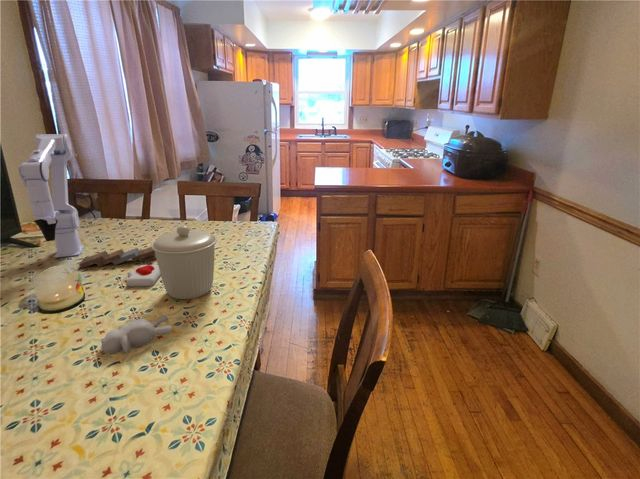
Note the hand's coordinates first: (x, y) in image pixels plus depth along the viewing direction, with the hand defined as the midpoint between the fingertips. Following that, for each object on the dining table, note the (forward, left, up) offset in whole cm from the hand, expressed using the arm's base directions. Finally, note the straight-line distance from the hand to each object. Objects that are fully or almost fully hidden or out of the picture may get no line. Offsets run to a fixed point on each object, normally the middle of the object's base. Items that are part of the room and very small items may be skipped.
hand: (50, 240), depth 126 cm
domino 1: (-1, +7, -10) cm, 12 cm away
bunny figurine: (+54, +29, -11) cm, 62 cm away
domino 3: (0, +24, -9) cm, 25 cm away
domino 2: (0, +13, -10) cm, 16 cm away
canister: (+31, +42, -11) cm, 53 cm away
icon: (+17, +28, -11) cm, 34 cm away
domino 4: (0, +26, -10) cm, 28 cm away
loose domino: (0, +18, -10) cm, 20 cm away
